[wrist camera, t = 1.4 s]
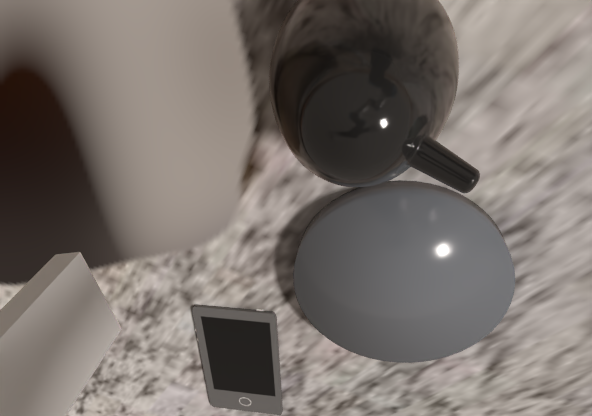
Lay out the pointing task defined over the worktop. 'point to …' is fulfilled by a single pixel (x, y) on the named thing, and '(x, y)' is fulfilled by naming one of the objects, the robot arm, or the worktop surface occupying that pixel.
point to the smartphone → (240, 358)
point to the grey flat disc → (403, 272)
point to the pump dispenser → (368, 90)
